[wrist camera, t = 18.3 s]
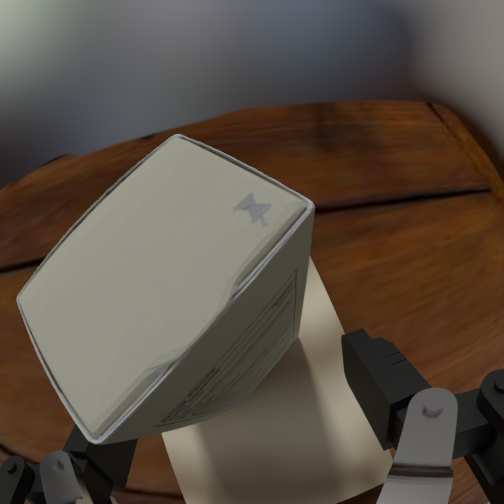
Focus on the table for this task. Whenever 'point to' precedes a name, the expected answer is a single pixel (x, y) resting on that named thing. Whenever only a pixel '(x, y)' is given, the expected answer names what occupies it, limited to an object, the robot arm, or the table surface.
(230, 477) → the birch board
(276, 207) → the skincare box
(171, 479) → the table surface
